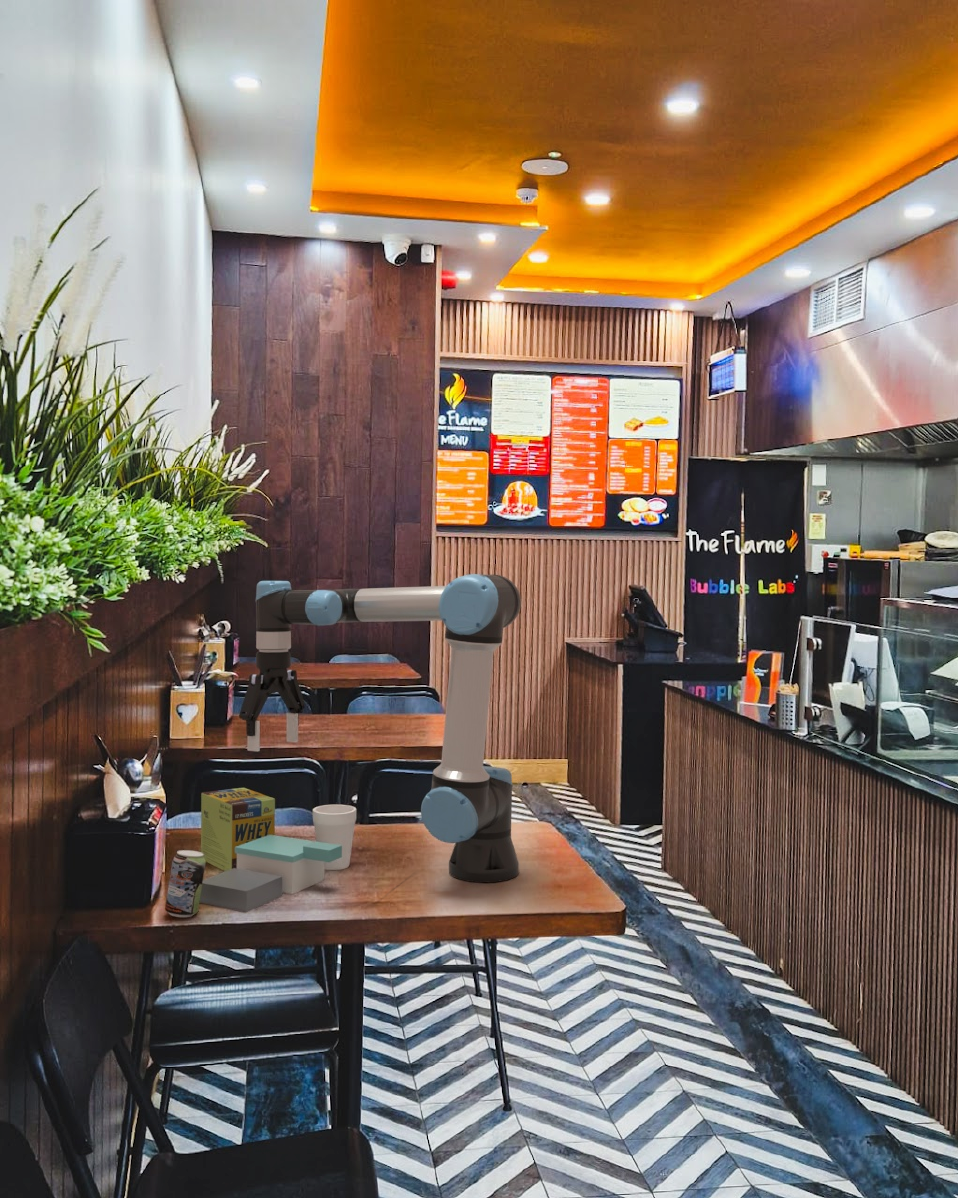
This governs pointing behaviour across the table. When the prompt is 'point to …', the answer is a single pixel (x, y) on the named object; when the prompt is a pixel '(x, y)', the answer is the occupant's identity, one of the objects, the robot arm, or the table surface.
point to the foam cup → (335, 830)
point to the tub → (285, 871)
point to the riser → (240, 889)
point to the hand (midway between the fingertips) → (273, 746)
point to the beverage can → (185, 883)
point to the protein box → (233, 823)
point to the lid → (290, 849)
